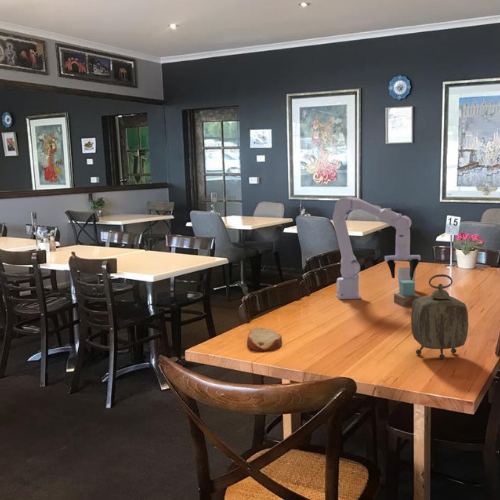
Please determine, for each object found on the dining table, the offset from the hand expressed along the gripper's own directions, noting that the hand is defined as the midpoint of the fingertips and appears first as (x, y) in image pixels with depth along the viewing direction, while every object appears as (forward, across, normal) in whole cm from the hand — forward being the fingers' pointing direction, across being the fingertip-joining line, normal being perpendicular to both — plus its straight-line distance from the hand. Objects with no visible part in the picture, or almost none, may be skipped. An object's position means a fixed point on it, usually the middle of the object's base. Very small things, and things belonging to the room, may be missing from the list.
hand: (402, 277), depth 231 cm
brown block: (+11, +1, -3) cm, 11 cm away
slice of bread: (+11, -62, -47) cm, 78 cm away
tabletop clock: (+10, -10, -69) cm, 70 cm away
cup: (+11, +9, +21) cm, 25 cm away
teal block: (+7, +1, -3) cm, 7 cm away
